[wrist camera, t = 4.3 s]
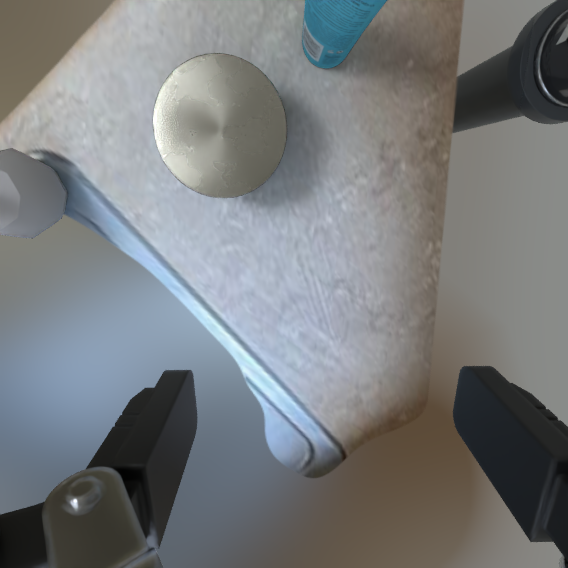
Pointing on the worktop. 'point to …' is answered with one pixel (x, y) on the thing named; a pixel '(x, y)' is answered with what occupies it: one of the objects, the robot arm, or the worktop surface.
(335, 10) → the tube
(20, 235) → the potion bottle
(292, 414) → the worktop surface
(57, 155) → the worktop surface
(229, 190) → the tea tin
